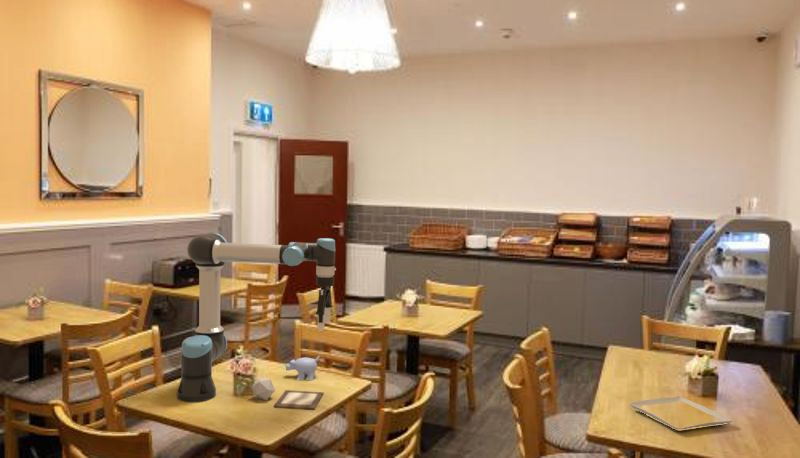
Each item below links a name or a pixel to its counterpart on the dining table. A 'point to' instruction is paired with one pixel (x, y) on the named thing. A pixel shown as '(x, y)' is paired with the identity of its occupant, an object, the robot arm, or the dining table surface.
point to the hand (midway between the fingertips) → (323, 326)
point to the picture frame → (299, 400)
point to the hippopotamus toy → (303, 367)
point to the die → (263, 388)
